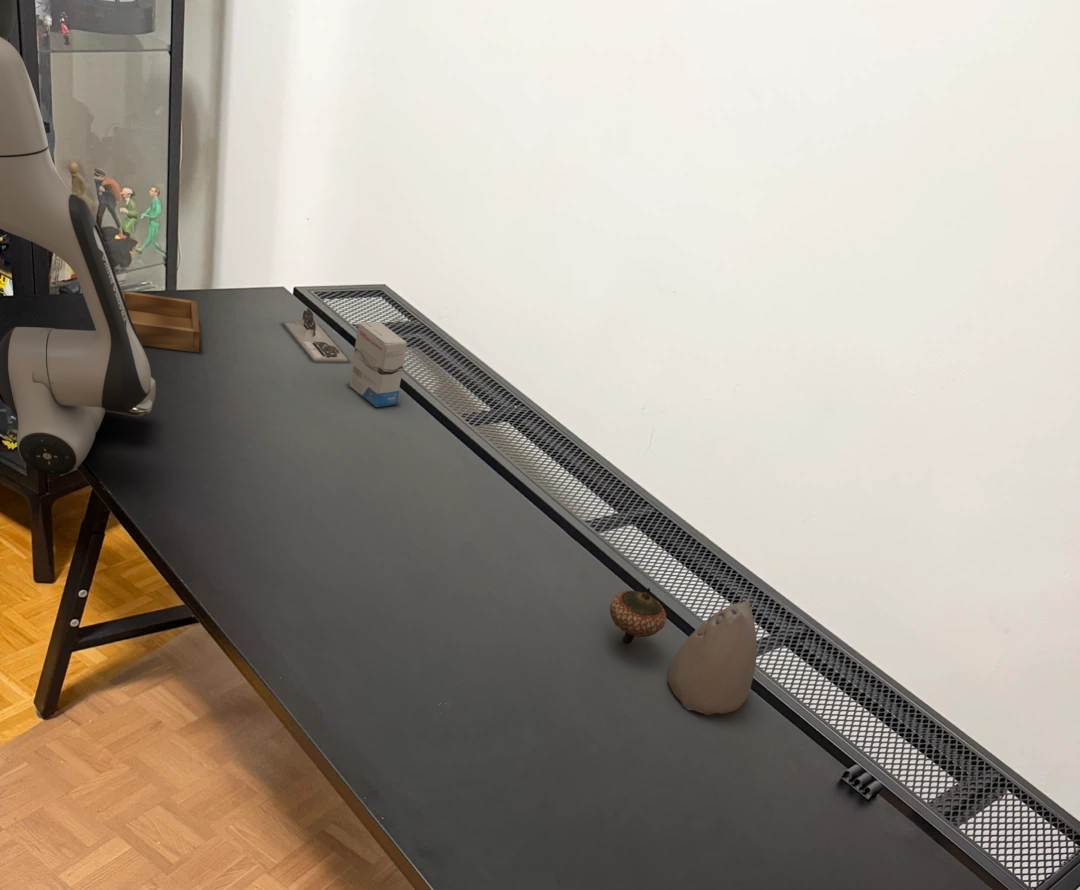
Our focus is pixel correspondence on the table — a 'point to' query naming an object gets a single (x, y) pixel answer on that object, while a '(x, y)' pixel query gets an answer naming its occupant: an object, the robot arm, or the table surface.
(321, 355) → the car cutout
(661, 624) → the acorn
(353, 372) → the ink box
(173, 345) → the box
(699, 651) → the sculpture
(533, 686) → the table surface
